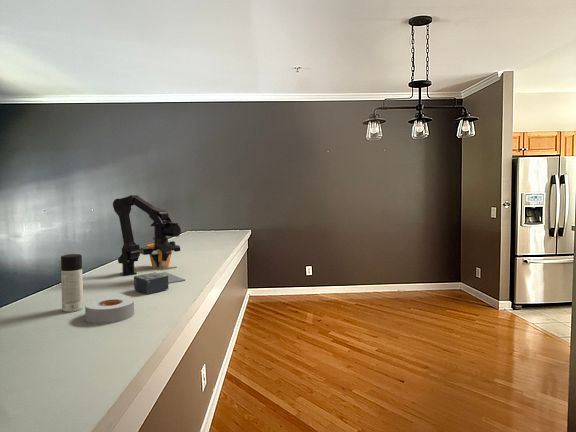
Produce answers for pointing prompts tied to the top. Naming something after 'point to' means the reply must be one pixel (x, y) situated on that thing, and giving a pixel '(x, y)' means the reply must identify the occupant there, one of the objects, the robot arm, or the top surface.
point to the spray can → (71, 282)
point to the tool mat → (172, 278)
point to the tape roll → (109, 310)
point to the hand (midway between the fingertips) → (160, 266)
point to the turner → (162, 266)
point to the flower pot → (158, 256)
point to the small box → (150, 283)
